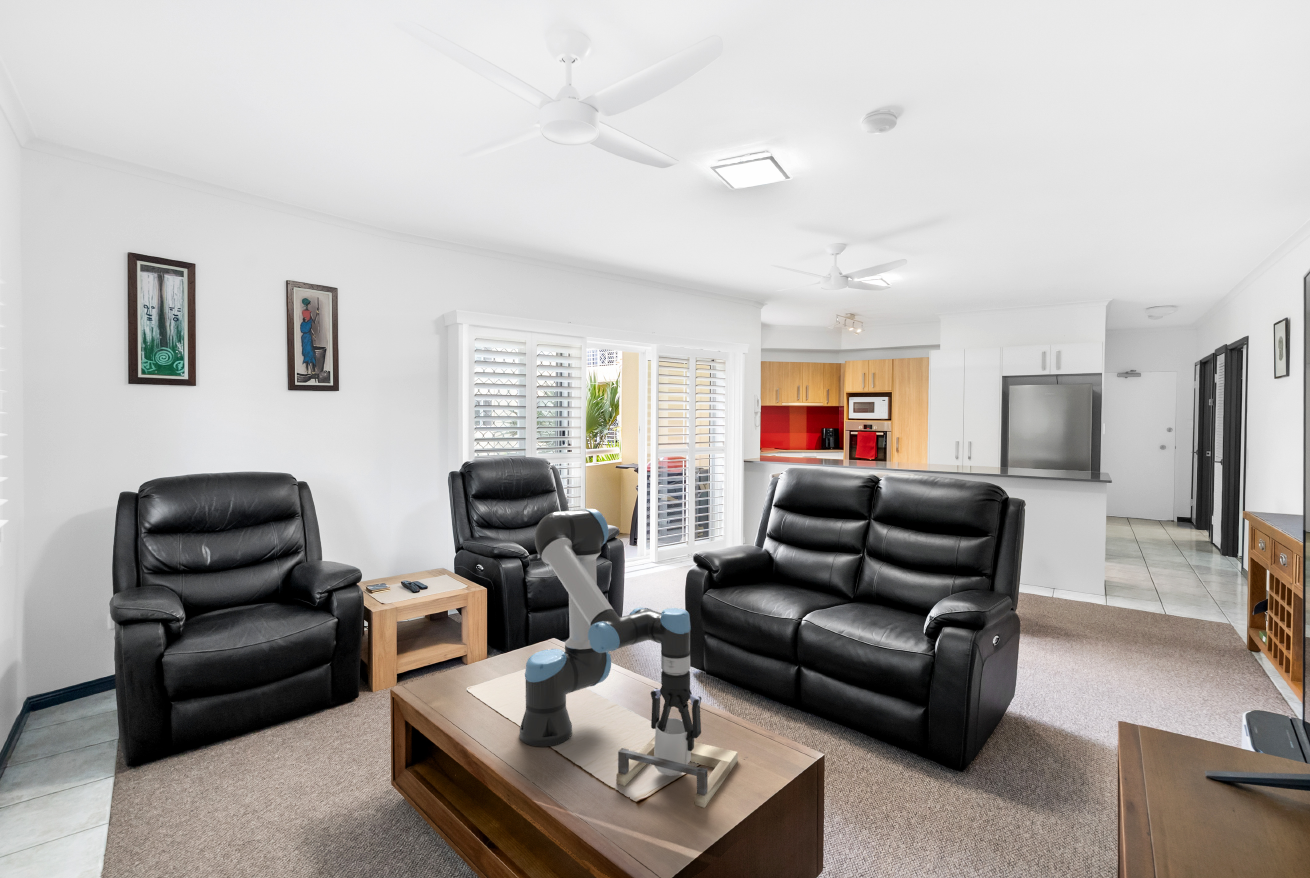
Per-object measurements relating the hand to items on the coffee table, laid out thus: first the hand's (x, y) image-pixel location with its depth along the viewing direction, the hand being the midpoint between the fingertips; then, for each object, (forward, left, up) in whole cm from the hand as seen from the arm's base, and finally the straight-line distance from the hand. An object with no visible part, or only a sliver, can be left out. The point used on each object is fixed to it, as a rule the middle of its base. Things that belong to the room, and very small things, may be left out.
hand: (676, 759), depth 167 cm
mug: (-1, +1, -3) cm, 3 cm away
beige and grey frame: (0, +2, -4) cm, 5 cm away
